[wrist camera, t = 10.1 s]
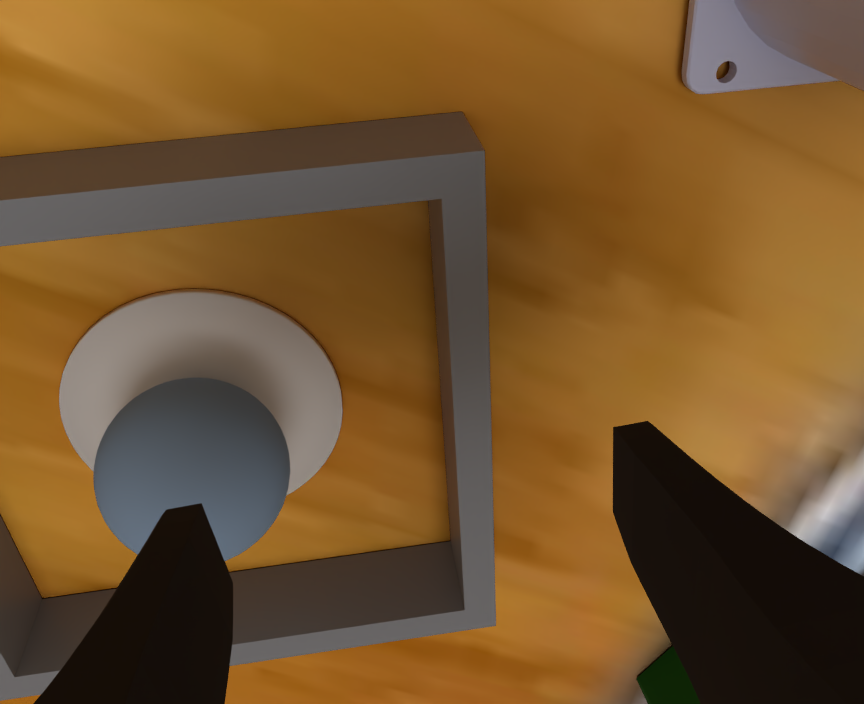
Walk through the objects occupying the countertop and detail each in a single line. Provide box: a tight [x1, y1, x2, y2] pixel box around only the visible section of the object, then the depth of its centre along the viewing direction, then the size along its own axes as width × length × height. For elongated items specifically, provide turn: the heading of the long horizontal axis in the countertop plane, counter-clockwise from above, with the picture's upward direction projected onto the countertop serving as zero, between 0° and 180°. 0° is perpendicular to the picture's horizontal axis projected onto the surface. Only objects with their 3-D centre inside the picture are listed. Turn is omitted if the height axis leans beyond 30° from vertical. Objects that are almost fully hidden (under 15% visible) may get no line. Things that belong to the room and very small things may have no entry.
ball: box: [94, 378, 290, 561], centre depth 21 cm, size 5×5×5 cm
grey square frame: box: [0, 112, 496, 701], centre depth 22 cm, size 16×16×3 cm
